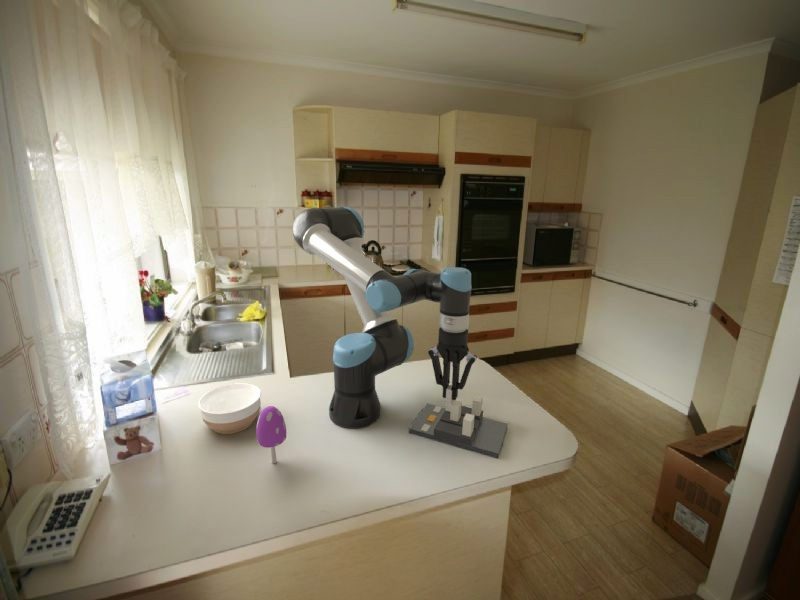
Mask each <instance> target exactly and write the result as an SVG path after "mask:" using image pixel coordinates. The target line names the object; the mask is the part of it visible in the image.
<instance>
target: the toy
mask: <svg viewBox="0 0 800 600" xmlns="http://www.w3.org/2000/svg"><path fill="white" fill-rule="evenodd" d="M255 429H256V432H255V433H256V440H257V441H256V442H257V443H258V445H259V446H261V447H263V448H267V449H269V448H270V455H271V458H270V459H271V464H277V462H278V461H277V454H276V453H277V452H276V447H277V446H279V445H281V444H282V443H284V441H286V439H287V426H286V422H285V418H284V416H283V414H282V412H281V411H280V410H279V409H278V408H277V407H275V406H273V405H269V406H266V407H264V408H263V409H262V410H261V412H260V414H259V416H258V418H257V423H256V428H255Z"/></svg>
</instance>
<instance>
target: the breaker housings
mask: <svg viewBox="0 0 800 600" xmlns="http://www.w3.org/2000/svg"><path fill="white" fill-rule="evenodd" d="M483 399H484V397H483V396H480V395H476V394H475V395H474V397H473V399H472V404H471V407H470V406H464V405H462V407H461V417H460V419H459V421H458V422H457V421H453V420H450V413H451V412H449V411H444V413H443V415H442V416H441V418H440V421H438V423H437V425H436V426H435V428H434V436H437V437H441V438H444V439H448V440H451V441H455V442H458V443H462V444H465V445H469V446H471V444H472V442H473V440H474V437H475V435H476V432H477V430H478V428H479V425H480V423H481V420H482V418H483V417H484V410H482V409H483V402H484V401H483Z"/></svg>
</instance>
